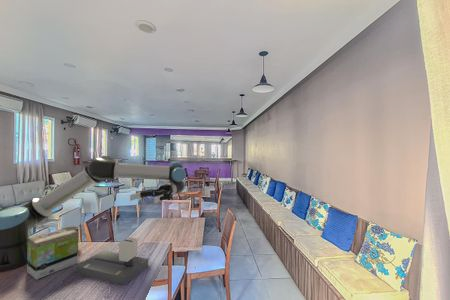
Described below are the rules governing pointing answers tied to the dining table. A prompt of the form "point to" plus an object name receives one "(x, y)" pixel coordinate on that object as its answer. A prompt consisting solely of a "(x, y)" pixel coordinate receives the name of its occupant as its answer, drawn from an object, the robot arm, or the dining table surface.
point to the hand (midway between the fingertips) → (142, 199)
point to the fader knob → (128, 251)
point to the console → (111, 267)
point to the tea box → (52, 252)
